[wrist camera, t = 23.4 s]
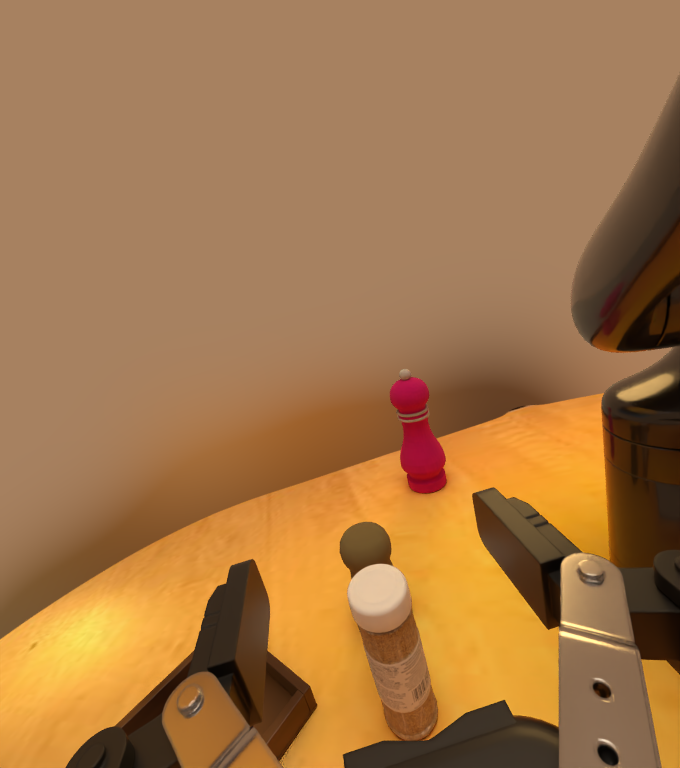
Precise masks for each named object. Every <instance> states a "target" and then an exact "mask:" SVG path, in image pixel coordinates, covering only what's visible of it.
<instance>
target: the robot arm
mask: <svg viewBox="0 0 680 768" xmlns="http://www.w3.org/2000/svg"><path fill="white" fill-rule="evenodd" d="M571 312H572V317H573V320H574V323H575V326H576V328H577V330H578V331H579V333H580V335H581V336H582V337H583V338H584V340H585V341H587V342H588V343H589V344H590V345H592V346H593V347H596V348H597V349H600V350H603V351H608V352H616V353H626V352H639V351H646V350H655V349H662V348H669V347H673V348H672V349H671V351H669V353H667V354H666V355H665V356H664V357H663V358H662V359H661V360H659V361H658V362H656V363H655V364H653V365H652V366H650V367H648V368H646V369H645V370H643V371H641V372H639V373H636V374H634V375H632V376H630V377H628V378H625V379H623V380H621V381H619V382H617V383H615V384H613V385H612V386H611V387H609V388H608V389H607V390H606V392H605V393H604V395H603V397H602V402H601V410H602V423H603V443H604V457H605V476H606V495H607V514H608V532H609V554H610V561H608V560H607V559H605V558H602V557H600V556H597V555H594V554H589V553H583V552H582V551H581V550H579V549H578V548H577V547H576V546H575V545H574V544H573V543H572V542H571V541H569V540H568V539H567V538H566V537H565V536H564V535H563V534H562V533H560V532H559V531H558V530H557V529H556V528H555V527H554V526H553V525H552V524H550V523H548V521H547V520H546V519H545V518H544V517H543V516H542V515H539V513H538V512H537V511H536V510H535V509H534V508H533V507H532V506H530V505H529V504H528V503H526V502H523V501H521V500H519V499H517V498H515V497H512V498H509V499H506V498H505V497H504V496H503V495H502V494H501V493H500V492H499V491H498V490H497V489H495V488H489V489H486V490H483V491H479V492H476V493H473V496H472V497H473V504H474V510H475V516H476V522H477V527H478V532H479V535H480V537H481V540H482V542H483V544H484V545H485V547H486V548H487V550H488V551H489V552H490V554H491V555H492V556H493V558H494V559H495V560H496V562H497V563H498V564H499V566H500V567H501V568H502V570H503V571H504V572H505V574H506V575H507V576H508V578H509V579H510V580H511V581H512V583H513V584H514V585H515V587H516V588H517V589H518V591H519V592H520V593H521V595H522V596H523V597H524V599H525V600H526V601H527V603H528V604H529V605H530V607H531V608H532V609H533V611H534V612H535V613H536V615H537V616H538V617H539V619H540V620H541V621H542V623H543V624H544V625H545V626H546V628H547V629H548V630H549V629H552V628H555V627H558V626H559V727H557V726H555V725H553V724H550V723H548V722H545V721H543V720H539V719H536V718H532V717H526V716H515V715H512V713H511V711H510V709H509V707H508V705H507V703H506V701H505V700H503V701H500V702H497V703H494V704H491V705H488V706H485V707H482V708H479V709H476V710H473V711H470V712H467V713H465V714H464V715H462V716H461V717H460V718H459V719H457V720H456V721H455V722H453V723H452V724H451V725H449V726H448V727H447V728H445V729H444V730H443V731H441V732H440V733H439V734H437V735H436V736H435V737H433V738H432V739H430V740H425V741H381V742H378V743H375V744H372V745H369V746H367V747H364V748H361V749H358V750H355V751H352V752H349V753H346V754H343V758H344V767H345V768H662V767H661V762H660V757H659V751H658V746H657V741H656V736H655V730H654V725H653V720H652V714H651V709H650V704H649V699H648V693H647V688H646V683H645V677H644V672H643V667H642V662H641V659H646V660H667V661H668V663H669V664H670V665H671V666H672V667H673V668H674V669H675V670H676V671H677V672H678V673H679V674H680V73H679V75H678V77H677V80H676V82H675V84H674V86H673V88H672V90H671V92H670V94H669V97H668V99H667V101H666V103H665V105H664V107H663V109H662V111H661V113H660V116H659V118H658V120H657V122H656V124H655V126H654V128H653V130H652V132H651V134H650V136H649V138H648V141H647V142H646V144H645V146H644V149H643V150H642V152H641V154H640V156H639V158H638V160H637V162H636V164H635V166H634V168H633V169H632V171H631V173H630V175H629V177H628V179H627V181H626V182H625V184H624V186H623V187H622V189H621V190H620V192H619V194H618V195H617V197H616V198H615V200H614V202H613V203H612V205H611V206H610V208H609V210H608V211H607V213H606V214H605V216H604V218H603V219H602V221H601V222H600V224H599V226H598V227H597V229H596V230H595V232H594V234H593V235H592V237H591V239H590V240H589V242H588V244H587V245H586V247H585V249H584V252H583V254H582V256H581V258H580V260H579V262H578V265H577V268H576V272H575V275H574V279H573V284H572V290H571ZM269 620H270V605H269V599H268V595H267V592H266V589H265V586H264V584H263V581H262V578H261V576H260V573H259V571H258V568H257V565H256V563H255V561H254V560H253V559H251V560H248V561H245V562H241V563H238V564H235V565H232V566H231V567H230V569H229V574H228V578H227V582H226V584H223V585H220V586H218V587H217V588H216V590H215V591H214V593H213V594H212V596H211V597H210V599H209V600H208V603H207V607H206V611H205V614H204V618H203V621H202V625H201V631H200V632H199V636H198V639H197V643H196V647H195V650H194V654H193V657H192V661H191V665H190V668H189V672H188V675H187V678H186V679H185V680H184V681H183V682H181V683H180V684H179V685H178V686H177V687H176V688H175V690H174V691H173V692H172V694H171V695H170V696H169V698H168V700H167V702H166V704H165V706H164V709H163V712H162V713H161V714H160V715H159V716H157V717H156V718H154V719H153V720H151V721H150V722H148V723H147V724H145V725H144V726H142V727H141V728H139V729H137V730H136V731H134V732H133V733H131V734H130V735H128V736H127V735H126V733H125V731H124V730H123V729H122V728H120V727H109V728H106V729H104V730H102V731H100V732H98V733H97V734H95V735H94V736H93V737H91V738H90V739H89V740H88V741H87V742H85V743H84V744H83V745H82V746H81V747H80V748H79V750H78V751H77V752H76V753H75V754H74V756H73V757H72V758H71V760H70V761H69V763H68V765H67V766H66V768H283V767H282V765H281V764H280V763H279V761H278V760H277V758H276V757H275V755H274V754H273V753H272V751H271V750H270V748H269V747H268V745H267V744H266V743H265V741H264V740H263V738H262V737H261V735H260V734H259V733H258V731H257V730H256V729H255V727H254V726H251V725H254V724H258V723H261V722H262V716H263V702H264V689H265V675H266V661H267V648H268V634H269ZM250 726H251V727H250Z"/></svg>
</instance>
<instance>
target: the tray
mask: <svg viewBox="0 0 680 768" xmlns="http://www.w3.org/2000/svg"><path fill="white" fill-rule="evenodd" d="M193 654H194V651H193V652H192V653H191V654H190V655H189V656H188V657H187V658H186V659H185V660H184V661H183V662H182V663H181V664H180V665H178V666H177V667H176V668H175V669H174V670H173V671H172V672H171V673H170V674H169V675H168V676H167V677H166V678H165V679H164V680H163V681H162V682H161V683H160V684H159V685H157V686H156V687H155V688H154V689H153V690H152V691H151V692H150V693H149V694H148V695H147V696H146V697H145V698H144V699H143V700H142V701H141V702H140V703H139V704H138V705H136V706H135V707H134V708H133V709H132V710H131V711H130V712H129V713H128V714H127V715H126V716H125V717H124V718H123V719H122V720H121V721H120V722H119V723H118V724H117V725H115V726H114V727H120V728H122V729H123V730H124V731H125V733H126V735H127V736H128V735H130V734H131V733H133V732H134V731H136V730H137V729H139V728H141V727H142V726H144V725H145V724H147V723H148V722H150V721H151V720H153V719H154V718H156V717H157V716H159V715H160V714H161V713H162V712H163V709H164V706H165V704H166V702H167V700H168V698H169V696H170V695H171V694H172V692H173V691H174V690H175V688H176V687H177V686H178V685H179V684H180V683H181V682H183V681H184V680H185V679H186V678H187V675H188V672H189V668H190V665H191V661H192V657H193ZM316 707H317V704H316V701H315V699H314V696H313V693H312V691H311V688H310V686H309V685H308V684H307V683H306V682H304V681H303V680H302V679H301V678H300V677H298V676H297V675H296V674H295V673H294V672H292V671H291V670H290V669H289V668H288V667H286V666H285V665H284V664H283V663H282V662H280V661H279V660H278V659H277V658H276V657H274V656H273V655H272V654H271V653H270V652H268V651H267V661H266V675H265V689H264V702H263V716H262V722H261V723H258V724H254V725H251V726H254V727H255V729H256V730H257V731H258V733H259V734H260V735H261V737H262V738H263V740H264V741H265V743H266V744H267V745H268V747H269V748H270V750H271V751H272V753H273V754H274V755H275V757H276V758H277V760H278V761H279V760H280V759H281V757H282V756H283V754H284V753H285V751H286V750H287V748H288V747H289V746H290V744H291V743H292V741H293V740H294V738H295V737H296V736H297V734H298V733H299V731H300V730H301V728H302V727H303V726H304V724H305V723H306V721H307V720H308V718H309V717H310V715H311V714H312V713H313V711H314V710H315V708H316ZM251 726H250V727H251Z"/></svg>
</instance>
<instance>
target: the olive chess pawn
mask: <svg viewBox="0 0 680 768" xmlns="http://www.w3.org/2000/svg"><path fill="white" fill-rule="evenodd" d="M340 554H341V557H342V560H343V562H344V564H345V565H346V567H347V568H349V569H350V571H351V579H352V578H353V577H354V576H355V575H356V574H357V573H358V572H359V571H360V570H362V569H363V568H365V567H368V566H370V565H374V564H388V565H391V566H393V565H392V562H391V560H390V555H391V542H390V538H389V536H388V534H387V532H386V531H385V530H384V528H382V527H381V526H380V525H378V524H376V523H373V522H362V523H358V524H355V525H353V526H351V527H350V528H349V529H347V530H346V531H345V533H344V534H343V536H342V538H341V541H340ZM358 627H359V626H358ZM359 630H360V629H359Z"/></svg>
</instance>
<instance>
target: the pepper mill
mask: <svg viewBox="0 0 680 768" xmlns="http://www.w3.org/2000/svg"><path fill="white" fill-rule="evenodd" d="M399 376H400V378H401V379H400V380H398V381H397V382H396V383H395V384H394V385H393V386H392V388H391V391H390V400H391V403H392V404H393V406H394V407H396V408H397V409H398V410H397V415H398V420H400V421H401V422H402V425H403V430H404V440H403V444H402V448H401V455H400V460H401V466H402V468H403V470H404V471H405V472H406V473H408V474H407V479H408V484H409V487H410V488H411V489H412V490H414V491H415V492H419V493H431V492H435V491H438V490H440V489H441V488H442V487H444V485H445V484H446V481H447V480H446V474H445V470H444V469H443V467H444V465H445V462H446V458H445V454H444V451H443V449H442V447H441V445H440V443H439V442H438V441H437V439H436V438H435V437H434V435H433V433H432V431H431V429H430V427H429V424H428V418H427V417H428V416H429V410H428V408H429V407H428V405H427V404H426V402H427V401H428V399H429V391H428V388H427V386H426V384H425V383H424V382H423V381H422V380H421V379H418V378H414V377H411V373H410V371H409V370H407V369H403V370H401V371H400V373H399Z"/></svg>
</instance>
